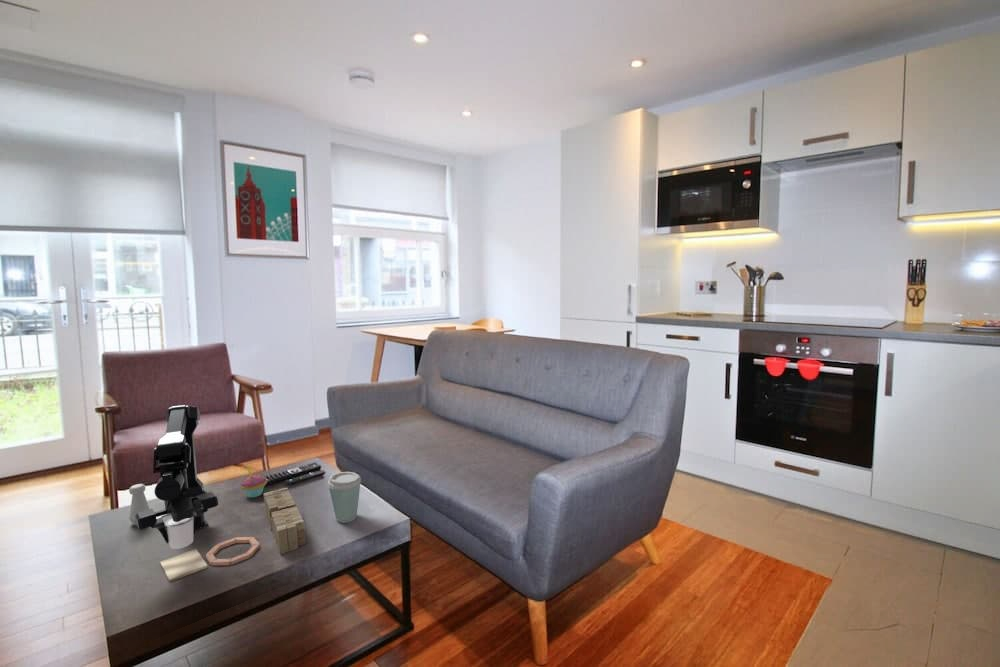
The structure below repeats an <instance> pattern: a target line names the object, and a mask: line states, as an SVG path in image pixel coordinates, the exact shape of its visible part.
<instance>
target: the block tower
mask: <svg viewBox="0 0 1000 667" xmlns="http://www.w3.org/2000/svg"><path fill="white" fill-rule="evenodd" d="M263 500H264V508H265V517H266V520H267V522H268V524H269V528H270V530H271V531H272V535H273V538H274V541H275V544H276V546H277V550H278V554H279V555H281V554H284V553H287V552H291V550H292V551H294V549H295V550H298V549H299V547H300V546H303V545H306V544H305V543H306V532H305V531H306V530H305V521H304V519H303V516H302V514H301V513H300V510H299V509H298V507H297V505H296V502H295V501H294V499H293V497H292V495H291V493H290V491H289V488H288V487H283V488H279V489H277V490H271V491H268V492H263ZM302 544H303V545H302ZM299 545H300V546H299ZM297 548H298V549H297Z"/></svg>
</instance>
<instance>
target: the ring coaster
mask: <svg viewBox="0 0 1000 667" xmlns="http://www.w3.org/2000/svg"><path fill="white" fill-rule="evenodd" d="M234 544H250V545H251V547H250V548H249V549H248V551H246V552H245V553H243V554H239V555H237V556H233V557H232V558H216V557H215V555H216V554H217V553H218V552H219V550H221V549H223V548H226V547H228V546H232V545H234ZM258 549H260V542H259V541H258V540H256V539H255V537H253V536H243V537H242V536H239V537H238V536H237V537H233V538H231V539H227V540H225V541H222V542H219V543H217V544H215V545H214V546H213V547H211V549H210V550H209V551H208V552H206V554H205V559H207V562H208V563H209V564H210V566H232V565H235V564H237V563H239V562H242V561H244V560H247V559H249V558H251V557H253V555H255V553H256V552H257V550H258Z"/></svg>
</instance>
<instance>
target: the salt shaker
mask: <svg viewBox="0 0 1000 667" xmlns="http://www.w3.org/2000/svg"><path fill="white" fill-rule="evenodd" d="M145 491H146V485H145V484H144V483H138V484H133V485H132V486H130V487H129V488H128V492H129V494H130V495H132V496H131V501H130V502H131V503H130V509H129V510H130V511H129V517H128V518H129V521H130V522H131V523H132V525H133V526H135V527H138V526H137V524H136V521H135V515H136V514H137V513H139V512H142V511H145V510H149V509H150V506H149V503H148V499H147V497H146V495H145Z"/></svg>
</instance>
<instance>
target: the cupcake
mask: <svg viewBox="0 0 1000 667" xmlns="http://www.w3.org/2000/svg"><path fill="white" fill-rule="evenodd" d="M246 465H247V466H246V467H247V471H248V475H249V476H248V477H246V478H245V479H243V481H242V482H241V483H240V486H241V488H242V490H244V492H245V493H246V495H247V497H248V498H250V499H251V498H256V497H257V498H258V497H259V496H261V495H262V494H263V490H264V487H265V486H266V485H267V483H268V480H267V477H266V476H263V475H259V474H256V475H252V472H251V469H250V465H249V464H248V463H246Z"/></svg>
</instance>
